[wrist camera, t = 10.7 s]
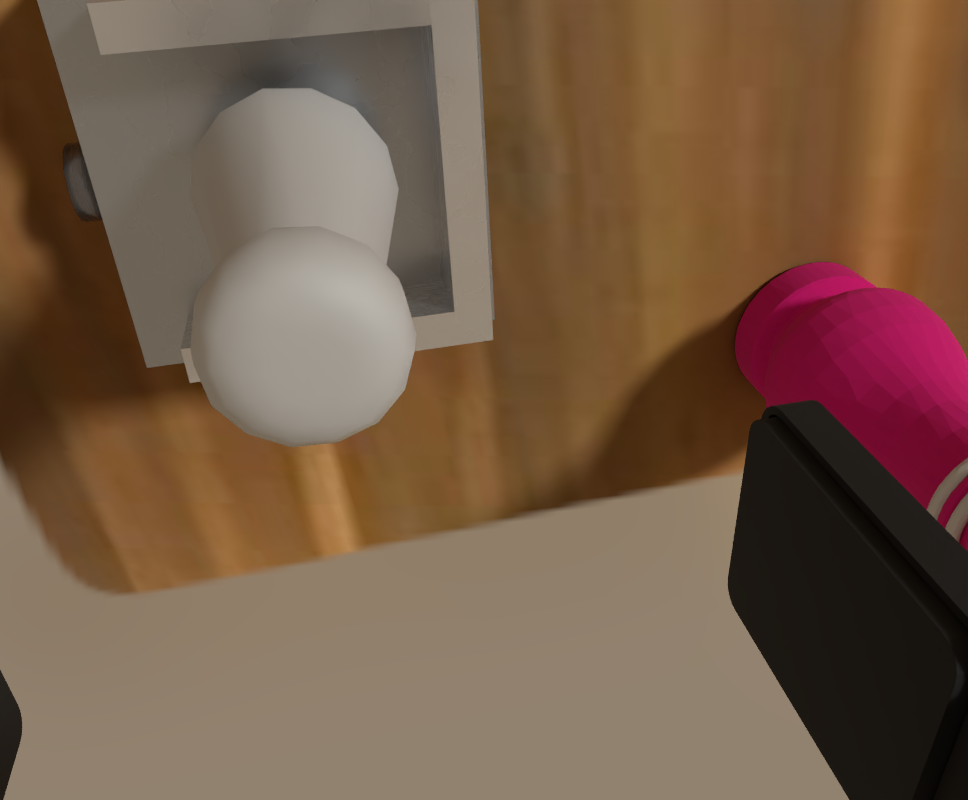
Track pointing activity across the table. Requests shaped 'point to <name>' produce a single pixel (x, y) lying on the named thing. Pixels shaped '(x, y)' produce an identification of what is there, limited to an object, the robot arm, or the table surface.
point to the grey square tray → (242, 72)
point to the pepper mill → (868, 375)
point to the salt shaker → (298, 270)
